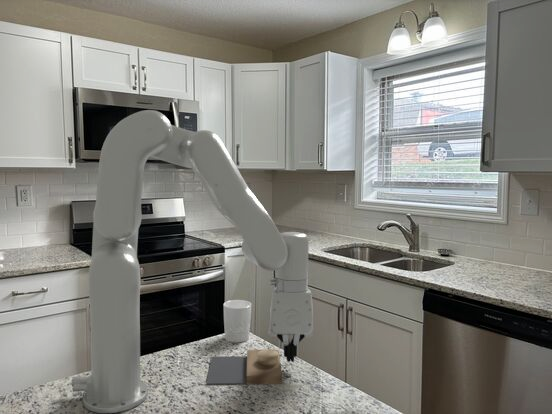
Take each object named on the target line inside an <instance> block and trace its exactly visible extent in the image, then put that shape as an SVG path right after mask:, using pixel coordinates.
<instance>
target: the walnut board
mask: <svg viewBox="0 0 552 414" xmlns="http://www.w3.org/2000/svg"><path fill="white" fill-rule="evenodd" d="M261 350H262V349H246V356H247V384H246V385H283V369H282V363H281V358H280V351H279V349H273V350H274V351H277V352H278V364H277V365H274V366H262V365H259V364H258V362H257V360H258V352H259V351H261Z"/></svg>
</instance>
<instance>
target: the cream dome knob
mask: <svg viewBox="0 0 552 414" xmlns="http://www.w3.org/2000/svg"><path fill="white" fill-rule="evenodd" d="M260 350H261V351H259V352H258V360H257V362H258V364H259V365H262V366H274V365H277V364H278V352H277V351H274V350H275V349H260Z"/></svg>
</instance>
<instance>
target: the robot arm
mask: <svg viewBox="0 0 552 414" xmlns="http://www.w3.org/2000/svg"><path fill="white" fill-rule="evenodd" d="M149 157H150V158H153V159H157V160H161V161H163V162H166V163H170V164H173V165H176V166H180V167H184V168H187V169H191V170H192V171H193V172H194V174H195V176H196V178H198V180H199V183H200V184H201V185H202V187H203V189H204V191H205V192H206V194H207V196H208V197H209V199H210V201H211V202H212V204H213V206H214V208H216V209H217V212H218V213H220V214H221V215H222V217H224V218H225V219H226V220H228V222H229V223H230V224H231V225H233V227H234V228H235V229H236V231H237V232H238V233H239V235H240V236H241V237H242V239H243V241H242V243H241V251H242V254H243V256H244V257H245V258H246V259H247V260H248V261H249V262H251V263H252V264H254V265H256V266H257V267H258V268H260V269H262V270H264V271H267V272H274V271H275V275H276V276H275V277H274V278H273V279H269V285H270V286H273V287H274V288H273V289H272V292H271V293H272V294H271V301H270V309H269V327H268V330H267V331H268V332H267V333H268V336H269V337H273V338H277V339H278V340H279V341H280V342H281V343H283V357H284V358H286V362H287V363H290V362H295V358H297V355H298V351H297V350H298V345H299V344H300V342H301V341H302V340H303V339H304V338H308V337H312V336H313V335H314V331H313V330H314V311H313V310H314V309H313V308H314V305H313V296H312V290H310V288H308V286H309V285H308V284H309V283H308V282H309V279H308V278H309V275H308V274H309V247H310V246H309V244H310V243H309V241H310V240H309V237H308V235H307V234H305V233H303V232H298V231H286V232H285V231H284V232H280V231H279V229H278V227H277V226H276V223H275V222H274V221H273V219H272V217H271V216H270V214H269V213H268V211H267V210H266V209H265V208H264V206H263V205H262V203H261V202H260V201H259V199H258V198H257V197H256V196H255V193H253V192H252V190H251V189H250V187H249V186H248V184H247V182H246V180H245V179H244V177H243V176H242V174H241V172H240V170H239V169H238V167H237V165H236V164H235V163H234V160H233V159H232V156H231V155H230V152H229V151H228V150H227V148H226V146H225V144H224V142H223V140H222V139H221V138H220V137H219V136H218V135H217V134H216V133H215V132H214V131H211V130H206V129H205V130H197V131H192V130H189V129H185V128H183V127H179V126H176V125H173V124H171V121H170V120H169V119H168V118H167V116H166V115H165V114H163V113H162V112H160V111H158V110H155V109H154V110H152V109H147V110H145V109H144V110H140V111H137V112H134V113H132V114H130V115H128V116H126V117H124V118H123V119H121V120H120V121H119V122H117V124H116V125H114V126H113V128H112V129H111V130H110V131H109V132H108V134H107V136H106V138H105V140H104V142H103V145H102V147H101V151H100V156H99V164H98V171H97V172H98V174H97V180H96V181H97V182H96V183H97V184H96V198H95V206H94V210H93V214H92V218H93V219H92V220H93V225H92V226H93V227H92V244H91V248H92V249H91V261H90V264H89V269H88V295H89V297H88V298H89V299H88V300H89V326H90V327H89V328H90V364H91V365H90V367H91V368H90V371H91V374H89V375H88V376H86V377H85V376H73V377H72V379H71V383H70V385H71V386H72V391H73V392H84V395H83V396H82V397H83V399H82V401H83V402H82V403H83V406H84V407H85V408H86V409H87V410H88V411H91V412H94V413H97V414H113V413H114V414H115V413H119V412H120V413H121V412H124V411H127V410H130V409H133V408H135V407H137V406H138V405H140V404H141V403H143V402H144V401H145V400H146V398H147V397H148V395H149V387H148V385H147V383H146V382H144V381H143V380H141V324H140V323H141V322H140V318H141V317H140V314H141V313H140V307H141V305H140V304H141V303H140V302H141V301H140V297H141V296H140V295H141V267H140V263H139V259H138V244H139V243H138V241H139V240H138V239H139V228H140V226H141V223H142V218H143V217H142V216H143V215H142V194H143V193H142V192H143V182H144V181H143V180H144V169H145V165H146V163H147V160H148V159H149ZM289 335H292V338H291V341H290V339H289Z"/></svg>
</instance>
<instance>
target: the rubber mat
mask: <svg viewBox="0 0 552 414" xmlns="http://www.w3.org/2000/svg"><path fill="white" fill-rule="evenodd" d="M210 358H211V359H210V362H209V363H210V364H209V369H208V373H207V377H206V382H205V385H206V386H210V385H212V386H213V385H215V386H216V385H218V386H221V385H222V386H225V385H226V386H228V385H248V384H247V355H246V356H241V355H240V356H237V355H236V356H211V357H210Z"/></svg>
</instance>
